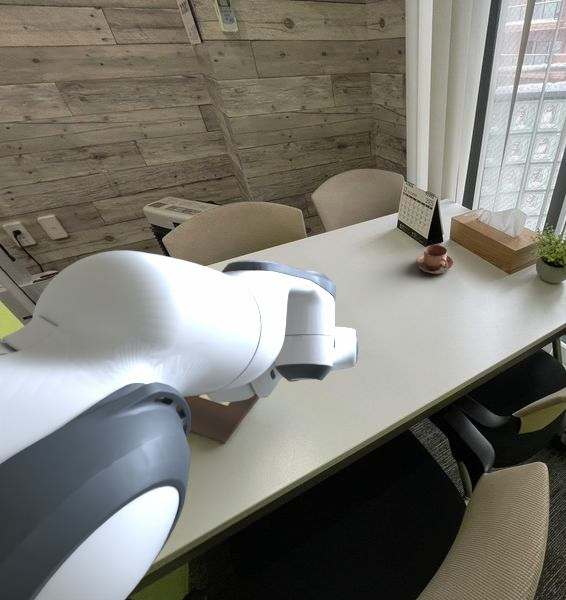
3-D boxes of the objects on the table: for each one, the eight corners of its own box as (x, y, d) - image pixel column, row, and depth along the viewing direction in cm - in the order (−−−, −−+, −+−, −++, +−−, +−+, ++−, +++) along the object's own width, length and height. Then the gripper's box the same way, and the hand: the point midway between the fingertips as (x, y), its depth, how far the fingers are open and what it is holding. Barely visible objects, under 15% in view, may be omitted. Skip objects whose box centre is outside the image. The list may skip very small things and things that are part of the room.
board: (224, 444, 60) (222, 441, 60) (157, 420, 64) (155, 418, 63) (285, 364, 75) (284, 361, 74) (227, 348, 79) (226, 346, 78)
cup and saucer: (459, 265, 108) (461, 249, 104) (439, 281, 101) (441, 264, 97) (429, 253, 114) (430, 238, 110) (409, 268, 107) (409, 251, 103)
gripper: (283, 304, 69) (217, 306, 68) (254, 383, 53) (167, 386, 52) (290, 325, 73) (227, 328, 72) (264, 405, 57) (184, 409, 56)
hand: (201, 353), depth 62 cm, fingers closed
